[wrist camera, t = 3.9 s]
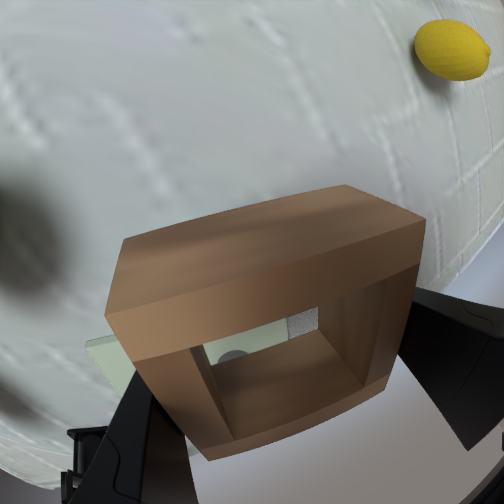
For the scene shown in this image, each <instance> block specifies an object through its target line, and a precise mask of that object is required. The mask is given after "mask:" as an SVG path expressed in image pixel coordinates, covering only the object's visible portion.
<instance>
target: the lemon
mask: <svg viewBox="0 0 504 504" xmlns="http://www.w3.org/2000/svg"><path fill="white" fill-rule="evenodd" d="M414 44H415V53H416V55H417V56H418V58H419V59H420V61H421V62H422V64H423V65H424V66H425V67H426V68H427V69H428V70H429V71H430V72H432V73H434V74H435V75H437V76H439V77H441V78H445V79H448V80H453V81H466V80H471V79H475V78H478V77H480V76H481V75H482V74H483V73H484V72H485V71H486V69H487V67H488V64H489V55H490V54H491V50H490V48H489V46H488V45H486V44H485V42H484V40H483V39H482V37H481V36H480V35H479V34H478V33H477V32H476V31H475V30H474V29H473V28H471V27H470V26H468V25H466V24H464V23H461V22H458V21H454V20H446V19H442V20H435V21H431V22H428V23H426V24H424V25H423V26H422V27H421V28H419V30H418V31H417V33H416V36H415V41H414Z"/></svg>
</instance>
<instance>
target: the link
mask: <svg viewBox="0 0 504 504" xmlns="http://www.w3.org/2000/svg"><path fill="white" fill-rule="evenodd" d="M425 225H426V219H425V218H423V217H421V216H419V215H417V214H414V213H412V212H410V211H408V210H406V209H403V208H401V207H399V206H397V205H394V204H392V203H390V202H387V201H385V200H383V199H380V198H378V197H375V196H373V195H370V194H368V193H366V192H363V191H360V190H358V189H355V188H353V187H350V186H348V185H340V186H335V187H330V188H325V189H320V190H315V191H310V192H306V193H301V194H296V195H292V196H287V197H283V198H278V199H274V200H269V201H265V202H261V203H257V204H252V205H248V206H244V207H240V208H236V209H232V210H228V211H224V212H220V213H216V214H212V215H208V216H204V217H200V218H197V219H193V220H189V221H185V222H182V223H178V224H175V225H171V226H167V227H164V228H160V229H157V230H153V231H150V232H146V233H143V234H139V235H136V236H133V237H129V238H126V239H124V240H123V244H122V247H121V250H120V254H119V257H118V261H117V265H116V268H115V272H114V276H113V280H112V284H111V288H110V292H109V297H108V301H107V306H106V310H105V315H104V316H105V318H106V320H107V321H108V323H109V325H110V327H111V329H112V330H113V332H114V334H115V336H116V337H117V339H118V341H119V343H120V344H121V346H122V348H123V349H124V351H125V352H126V354H127V356H128V357H129V359H130V361H131V362H132V364H133V365H134V367H135V368H136V370H137V371H138V373H139V374H140V376H141V377H142V379H143V380H144V382H145V383H146V385H147V386H148V387H149V389H150V390H151V392H152V393H153V395H154V396H155V397H156V399H157V400H158V401H159V403H160V404H161V405H162V407H163V408H164V409H165V411H166V412H167V413H168V415H169V416H170V417H171V418H172V420H173V421H174V422H175V423H176V425H177V426H178V427H179V428H180V429H181V431H182V432H183V433H184V434H185V435H186V437H187V438H188V439H189V440H190V441H191V442H192V443H193V445H194V446H195V447H196V448H197V449H198V450H199V451H200V452H201V453H202V454H203V456H204V457H205V458H206V459H207V460H208V461H212V460H216V459H220V458H224V457H228V456H232V455H235V454H239V453H242V452H245V451H249V450H252V449H255V448H259V447H262V446H265V445H268V444H270V443H273V442H276V441H279V440H281V439H284V438H286V437H289V436H292V435H295V434H297V433H300V432H302V431H305V430H307V429H309V428H311V427H314V426H316V425H318V424H320V423H323V422H325V421H327V420H329V419H331V418H334V417H335V416H338V415H340V414H342V413H344V412H346V411H348V410H350V409H352V408H353V407H355V406H357V405H359V404H361V403H363V402H364V401H366V400H368V399H370V398H372V397H373V396H375V395H377V394H379V393H380V392H382V391H384V390H385V387H386V384H387V382H388V379H389V376H390V374H391V371H392V368H393V365H394V362H395V359H396V356H397V353H398V350H399V347H400V344H401V341H402V337H403V334H404V330H405V327H406V323H407V319H408V316H409V312H410V308H411V304H412V299H413V295H414V291H415V286H416V281H417V276H418V271H419V265H420V260H421V254H422V247H423V240H424V233H425ZM317 306H318V329H316V330H313V331H311V332H308V333H306V334H303V335H301V336H298V337H295V338H293V339H290V340H287V341H284V342H282V343H279V344H276V345H273V346H270V347H268V348H265V349H262V350H259V351H256V352H253V353H250V354H247V355H244V356H240V357H237V358H234V359H231V360H228V361H224V362H221V363H217V364H214V365H211V364H210V362H209V359H208V357H207V354H206V352H205V349H204V346H203V344H205V343H208V342H212V341H215V340H219V339H222V338H225V337H229V336H232V335H235V334H238V333H242V332H245V331H248V330H251V329H254V328H257V327H260V326H263V325H266V324H269V323H272V322H275V321H278V320H281V319H284V318H286V317H289V316H292V315H295V314H298V313H300V312H303V311H306V310H309V309H311V308H314V307H317Z"/></svg>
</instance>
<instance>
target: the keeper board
mask: <svg viewBox="0 0 504 504" xmlns="http://www.w3.org/2000/svg"><path fill="white" fill-rule="evenodd" d="M287 340H288V332H287V321H286V318H284V319H281V320H278V321H275V322H272V323H269V324H266V325H263V326H260V327H257V328H254V329H251V330H248V331H245V332H242V333H238V334H235V335H232V336H229V337H225V338H222V339H219V340H215V341H212V342H208V343H205V344H203V346H204V349H205V352H206V354H207V357H208V359H209V362H210V364H211V365H214V364H217V363H221V362H224V361H228V360H231V359H234V358H237V357H240V356H244V355H247V354H250V353H253V352H256V351H259V350H262V349H265V348H268V347H270V346H273V345H276V344H279V343H282V342H284V341H287ZM85 350H86V351H87V352H88V354H89V355H90V357H91V358H92V360H93V361H94V363H95V364H96V365H97V367H98V368H99V369H100V371H101V372H102V374H103V375H104V376H105V378H106V379H107V380H108V381H109V383H110V384H111V385H112V387H113V388H114V389H115V390H116V392H117V393H118V394H119V395H120V396H121V398H122V397H123V395H124V393H125V390H126V388H127V386H128V384H129V382H130V380H131V378H132V376H133V374H134V372H135V370H136V368H135V367H134V365H133V364H132V362H131V361H130V359H129V357H128V356H127V354H126V352H125V351H124V349H123V348H122V346H121V344H120V343H119V341H118V339H117V337H116V336H115V335H112V336H108V337H103V338H99V339H95V340H91V341H86V345H85Z"/></svg>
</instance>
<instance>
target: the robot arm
mask: <svg viewBox="0 0 504 504" xmlns="http://www.w3.org/2000/svg"><path fill="white" fill-rule="evenodd" d="M397 354H398V355H399V356H400V358H401V359H402V361H403V362H404V363H405V364H406V366H407V367H408V368H409V370H410V371H411V372H412V374H413V375H414V376H415V378H416V379H417V380H418V382H419V383H420V384H421V386H422V387H423V388H424V390H425V391H426V393H427V394H428V395H429V397H430V398H431V399H432V401H433V402H434V404H435V405H436V406H437V408H438V409H439V411H440V412H441V413H442V415H443V417H444V418H445V419H446V421H447V422H448V423H449V425H450V426H451V428H452V430H453V431H454V432H455V434H456V435H457V437H458V438H459V440H460V441H461V443H462V444H463V446H464V448H465V449H466V450H467V451H469V450H470V449H471V448H472V447H474V446H475V445H476V444H477V443H478V442H479V441H480V440H482V439H483V438H484V437H485V436H486V435H487V434H488V433H489V432H490V431H491V430H492V429H493V428H495V427H496V426H498V427H499V428H500V429H501V430H502V450H503V451H504V309H503V308H498V307H493V306H488V305H482V304H478V303H474V302H470V301H466V300H463V299H459V298H458V299H457V298H455V297H452V296H448V295H444V294H441V293H437V292H433V291H430V290H426V289H422V288H419V287H415V291H414V295H413V299H412V304H411V308H410V312H409V316H408V319H407V323H406V327H405V330H404V334H403V337H402V341H401V344H400V347H399V350H398V353H397ZM67 435H68V436H70V437H71V438H72V439H73V440H74V457H73V471H72V470H69V469H68V470H67V472H61V498H62V504H199V503H198V500H197V495H196V491H195V486H194V482H193V478H192V472H191V467H190V463H189V457H188V452H187V446H186V440H185V434H184V433H183V432H182V431H181V429H180V428H179V427H178V426H177V425H176V423H175V422H174V421H173V420H172V418H171V417H170V416H169V415H168V413H167V412H166V411H165V409H164V408H163V407H162V405H161V404H160V403H159V401H158V400H157V399H156V397H155V396H154V395H153V393H152V392H151V390H150V389H149V387H148V386H147V385H146V383H145V382H144V380H143V379H142V377H141V376H140V374H139V373H138V371H137V370H135V372H134V374H133V376H132V378H131V380H130V382H129V384H128V386H127V388H126V390H125V393H124V395H123V397H122V399H121V401H120V403H119V405H118V407H117V409H116V411H115V414H114V416H113V418H112V420H111V422H110V424H109V427H102V428H92V429H79V430H67ZM73 485H74V486H78V488H74V487H73ZM459 504H504V456H503V457H502V459H501V460H500V461H499V462H498V464H497V465H496V466H495V467H494V468H493V469H492V470H491V472H490V473H489V474H488V475H487V476H486V477H485V478H484V479H483V480H482V481H481V483H480V484H479V485H478V486H477V487H476V488H475V489H474V490H473V491H472V492H471V493H470V494H469V495H468V496H467V497H466V498H465V499H463V500H462V501H461V502H460V503H459Z"/></svg>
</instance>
